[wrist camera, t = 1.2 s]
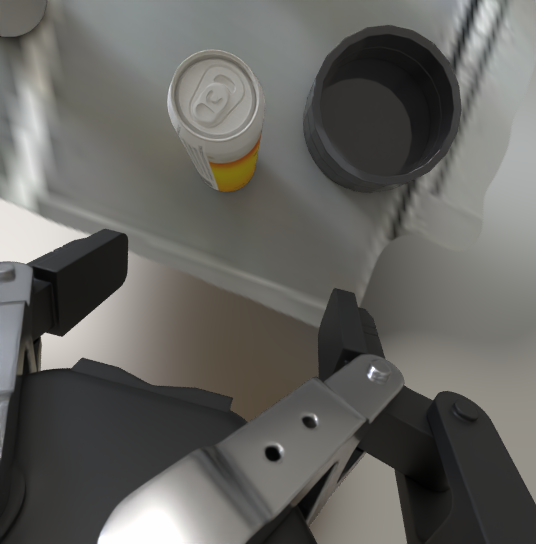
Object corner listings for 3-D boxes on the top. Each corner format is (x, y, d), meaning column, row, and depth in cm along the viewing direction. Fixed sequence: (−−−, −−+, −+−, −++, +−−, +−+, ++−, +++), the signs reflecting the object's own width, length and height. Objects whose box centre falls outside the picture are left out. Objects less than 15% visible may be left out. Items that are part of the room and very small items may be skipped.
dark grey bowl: (293, 63, 34) (301, 34, 29) (425, 47, 35) (452, 17, 30) (314, 201, 35) (324, 194, 31) (440, 182, 36) (469, 172, 32)
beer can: (266, 157, 34) (286, 85, 19) (234, 204, 34) (229, 168, 19) (218, 122, 34) (201, 20, 19) (185, 170, 34) (142, 106, 19)
